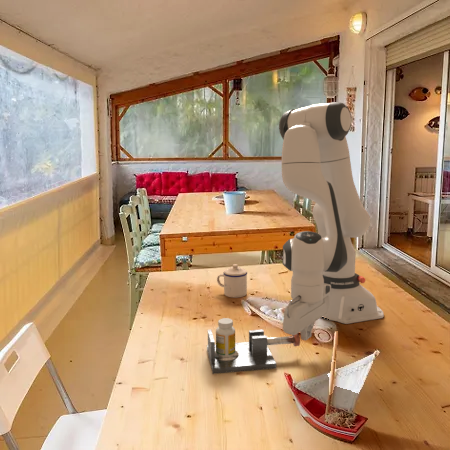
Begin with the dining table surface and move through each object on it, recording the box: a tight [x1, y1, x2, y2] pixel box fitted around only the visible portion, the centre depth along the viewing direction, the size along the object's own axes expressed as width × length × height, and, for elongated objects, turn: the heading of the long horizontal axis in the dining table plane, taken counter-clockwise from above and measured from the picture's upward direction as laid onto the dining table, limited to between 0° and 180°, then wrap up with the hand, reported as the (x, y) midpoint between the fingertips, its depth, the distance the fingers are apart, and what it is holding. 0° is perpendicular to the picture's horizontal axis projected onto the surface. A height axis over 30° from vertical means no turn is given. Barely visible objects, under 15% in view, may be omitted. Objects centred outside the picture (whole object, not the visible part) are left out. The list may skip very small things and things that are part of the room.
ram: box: [267, 333, 301, 347], centre depth 137 cm, size 13×4×4 cm, turn 98°
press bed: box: [206, 329, 277, 375], centre depth 136 cm, size 17×14×8 cm
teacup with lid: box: [216, 263, 248, 299], centre depth 188 cm, size 12×9×12 cm
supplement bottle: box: [215, 317, 236, 357], centre depth 135 cm, size 5×5×10 cm
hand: (306, 338), depth 138 cm, fingers closed
